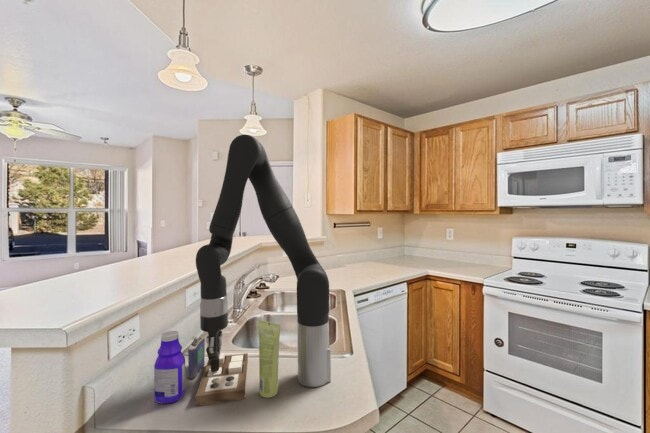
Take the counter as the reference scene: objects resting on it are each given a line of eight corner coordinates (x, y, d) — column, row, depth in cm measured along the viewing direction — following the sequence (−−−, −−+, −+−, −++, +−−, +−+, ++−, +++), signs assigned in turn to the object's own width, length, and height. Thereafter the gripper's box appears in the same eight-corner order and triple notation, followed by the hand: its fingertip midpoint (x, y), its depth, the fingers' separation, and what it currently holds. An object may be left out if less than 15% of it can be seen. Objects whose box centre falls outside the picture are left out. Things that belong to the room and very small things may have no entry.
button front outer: (222, 375, 87) (222, 367, 87) (220, 382, 83) (220, 373, 83) (209, 377, 86) (209, 368, 86) (207, 384, 83) (207, 375, 83)
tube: (279, 385, 82) (278, 317, 82) (281, 396, 77) (280, 324, 77) (258, 388, 81) (258, 319, 80) (259, 400, 76) (258, 326, 75)
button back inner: (243, 362, 94) (243, 354, 94) (242, 368, 91) (242, 360, 91) (231, 363, 94) (231, 356, 94) (230, 369, 90) (230, 361, 90)
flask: (195, 379, 85) (194, 343, 85) (185, 379, 85) (184, 343, 85) (206, 363, 95) (205, 330, 94) (197, 363, 94) (196, 331, 94)
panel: (247, 360, 96) (247, 352, 96) (244, 398, 76) (244, 387, 76) (209, 365, 93) (209, 356, 93) (195, 405, 74) (195, 394, 74)
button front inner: (242, 368, 88) (242, 360, 88) (241, 375, 85) (241, 367, 85) (229, 370, 87) (229, 362, 87) (228, 377, 84) (228, 368, 84)
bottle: (189, 391, 80) (188, 328, 79) (179, 404, 74) (178, 337, 74) (162, 391, 80) (161, 329, 79) (150, 405, 74) (149, 338, 74)
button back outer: (224, 360, 93) (224, 352, 93) (223, 366, 90) (223, 358, 90) (212, 361, 92) (212, 354, 92) (211, 367, 89) (210, 359, 89)
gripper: (224, 318, 79) (226, 381, 79) (229, 303, 92) (230, 357, 92) (195, 321, 77) (196, 385, 77) (204, 305, 90) (205, 360, 90)
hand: (215, 369), depth 85 cm, fingers closed
